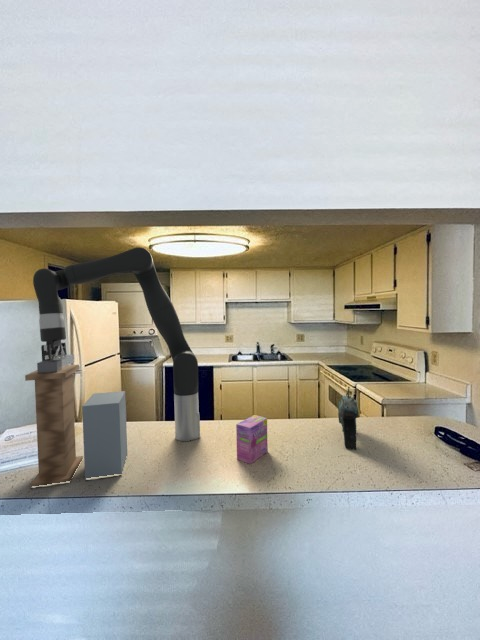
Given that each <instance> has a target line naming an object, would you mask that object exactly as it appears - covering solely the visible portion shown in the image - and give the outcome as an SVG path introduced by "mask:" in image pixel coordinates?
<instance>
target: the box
mask: <svg viewBox="0 0 480 640" xmlns="http://www.w3.org/2000/svg"><path fill="white" fill-rule="evenodd" d="M235 427H236V428H235V429H236V432H235V433H236V459H237V460H239V461H240V460H241V461H240V462H243V461H244V462H243V463H246V464H248V465H251V464H253V462H255V461H256V460H258V459H259V458H261V457H262V456H263V455H265V454H266V453H267V452H268V418H267V417H264V416H260V415H257V414H253V415H252V416H249V417H247V418H246V419H244V420H242V421H240V422H237V423H236V426H235Z"/></svg>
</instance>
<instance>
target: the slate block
mask: <svg viewBox="0 0 480 640" xmlns="http://www.w3.org/2000/svg"><path fill="white" fill-rule="evenodd" d="M126 405H127V402H126V390H122V391H120V390H119V391H109V392H95V393H92V394H91V396H90V397H89V398H88V399H87V400H86V401H85V402H84V403H83V405H82V406H81V409H82V410H81V412H82V433H83V434H82V435H83V436H82V438H83V463H84V466H83V467H84V480H85V479H86V478H91V477H99V476H107V475H114V474H122V475H123V473H122V471H123V472H124V470H123V467H124V468H125V466H124V464H125V465H126V462H125V460H126V461H127V458H126V456H127V457H128V432H127V407H126Z"/></svg>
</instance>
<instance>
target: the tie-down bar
mask: <svg viewBox="0 0 480 640" xmlns="http://www.w3.org/2000/svg"><path fill="white" fill-rule="evenodd" d="M74 362H75V354H67V355H63V356H61V357H58V358H56V359H53V360H49V361H42V360H41V361H39V362H37V363H36V366H37V369H36V370H37V371H38V374H39V373H55V372H59V371H61V370H62V368H63V367H65V366H67V365H71V364H72V363H74Z"/></svg>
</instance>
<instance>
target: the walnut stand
mask: <svg viewBox="0 0 480 640" xmlns="http://www.w3.org/2000/svg"><path fill="white" fill-rule="evenodd" d="M79 370H80V364H69V365H67V366H65V367H63V368H62V370H61V371H59V372H55V373H39V374H38V371H37V369H36V370H34V371H31V372H29V373H27V374H24V378H25V382H26V381H28V382H29V381H34V396H35V398H34V399H35V417H36V437H37V438H36V439H37V442H36V443H37V444H36V445H37V461H38V462H37V464H38V467H37V468H38V473H37V474H36V476H35V477H34V478H33V480H32V481H31V482H30V483H29V488H30V487H32V486H39V485H47V484H52V483H60V482H66V481H70V480H71V478H72V477H73V475H74V473H75V471H76V469H77V468H78V466H79V464H80V462H81V461H82V459H83V460H84V455H81V456H77V455H76V453H77V452H76V433H75V432H76V431H75V430H76V429H75V427H76V426H75V407H74V403H75V402H74V382H73V381H74V380H73V374H74V373H76V372H77V371H79ZM82 462H83V461H82ZM79 467H80V466H79ZM78 469H79V468H78ZM75 474H76V473H75ZM74 476H75V475H74ZM73 478H74V477H73Z"/></svg>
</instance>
